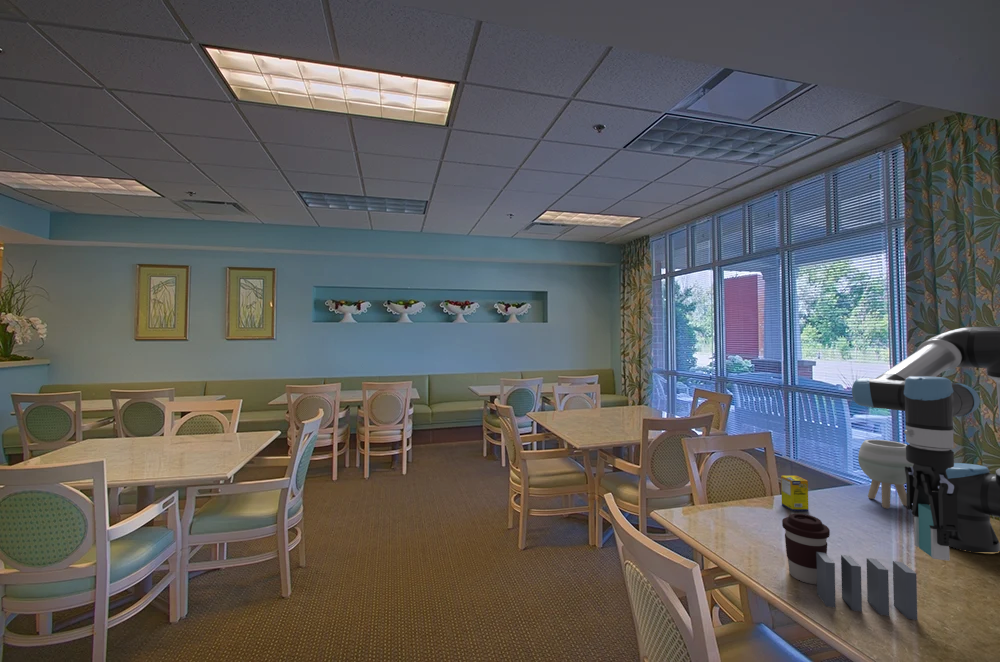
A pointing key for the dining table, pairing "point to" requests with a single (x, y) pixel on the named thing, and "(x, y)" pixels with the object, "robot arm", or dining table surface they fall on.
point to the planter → (884, 468)
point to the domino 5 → (925, 527)
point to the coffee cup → (804, 545)
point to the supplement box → (794, 493)
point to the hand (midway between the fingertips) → (931, 552)
